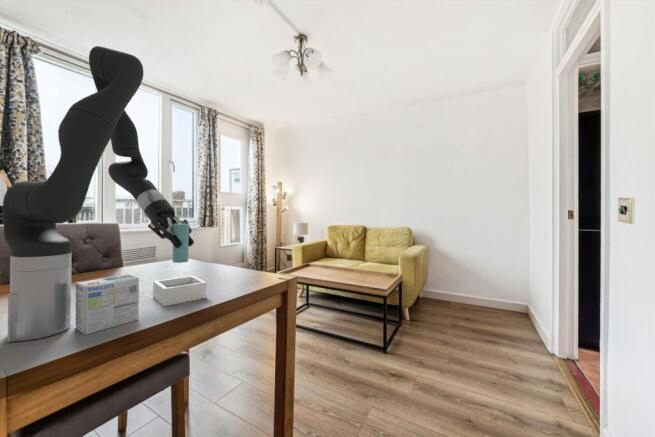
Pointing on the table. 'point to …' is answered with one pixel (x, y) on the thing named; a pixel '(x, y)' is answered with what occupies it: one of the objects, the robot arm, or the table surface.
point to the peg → (182, 252)
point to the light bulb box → (106, 303)
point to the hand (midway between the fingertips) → (185, 245)
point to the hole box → (179, 290)
